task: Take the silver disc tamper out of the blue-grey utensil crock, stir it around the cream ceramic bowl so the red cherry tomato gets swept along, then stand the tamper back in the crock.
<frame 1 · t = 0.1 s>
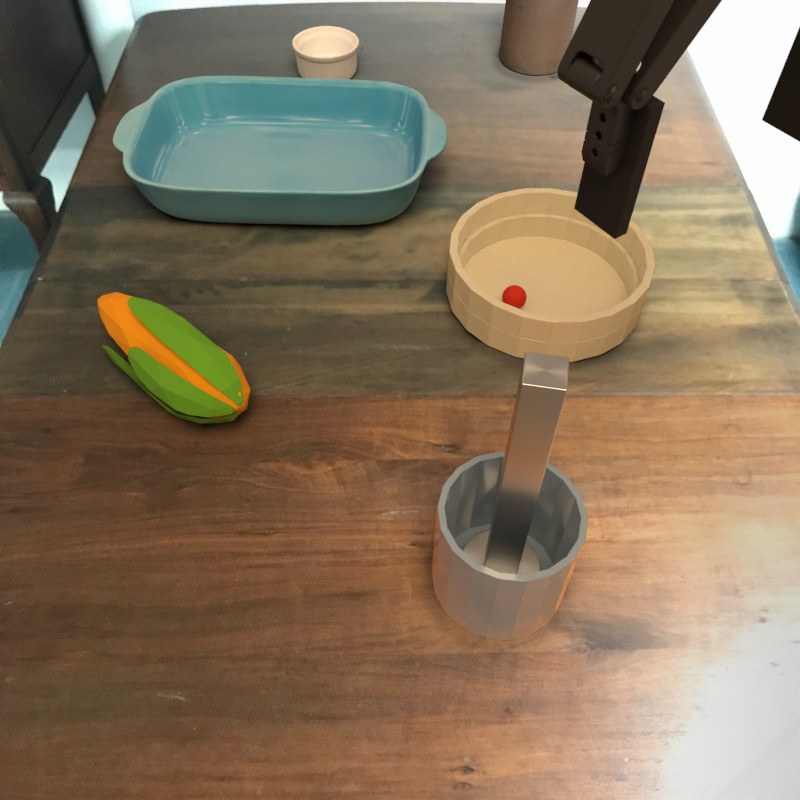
hand: (699, 173, 39), 33 cm above the table, tool pointing down, fingers open, 13 cm apart
bowl: (542, 294, 81), on the table
corn: (171, 379, 74), on the table
ramekin: (327, 73, 109), on the table
silver disc tamper: (497, 576, 61), resting on crock
casserole dish: (287, 182, 93), on the table
cherry tomato: (514, 297, 78), point 2 cm above the table, touching bowl
crock: (496, 579, 61), on the table
pillar candle: (533, 60, 111), on the table
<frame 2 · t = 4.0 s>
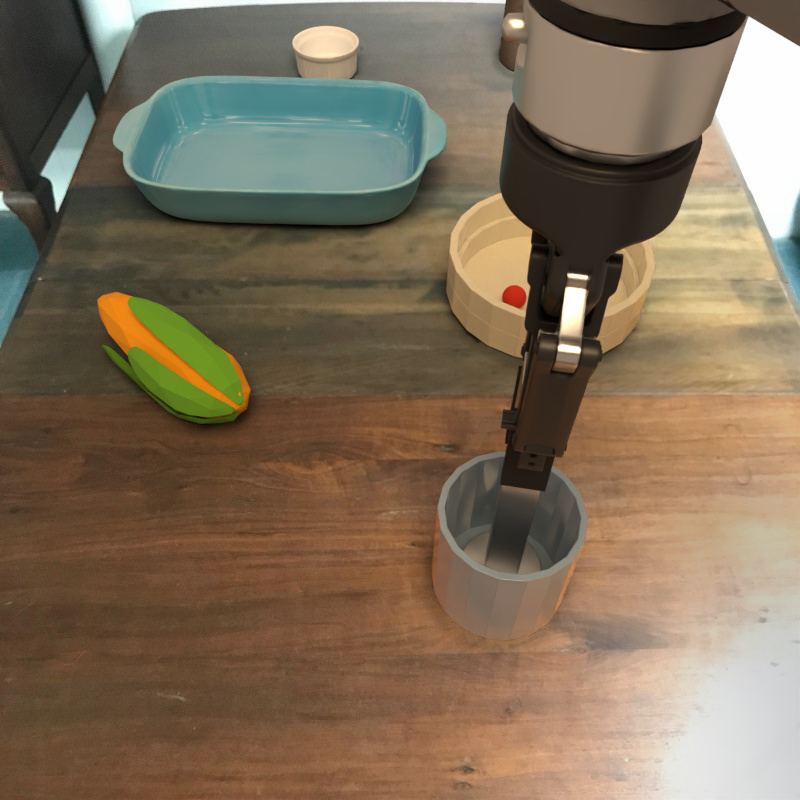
hand: (524, 461, 48), 16 cm above the table, tool pointing down, fingers closed on silver disc tamper, 2 cm apart
silver disc tamper: (497, 577, 60), point 1 cm above the table, touching gripper
everything else where it was.
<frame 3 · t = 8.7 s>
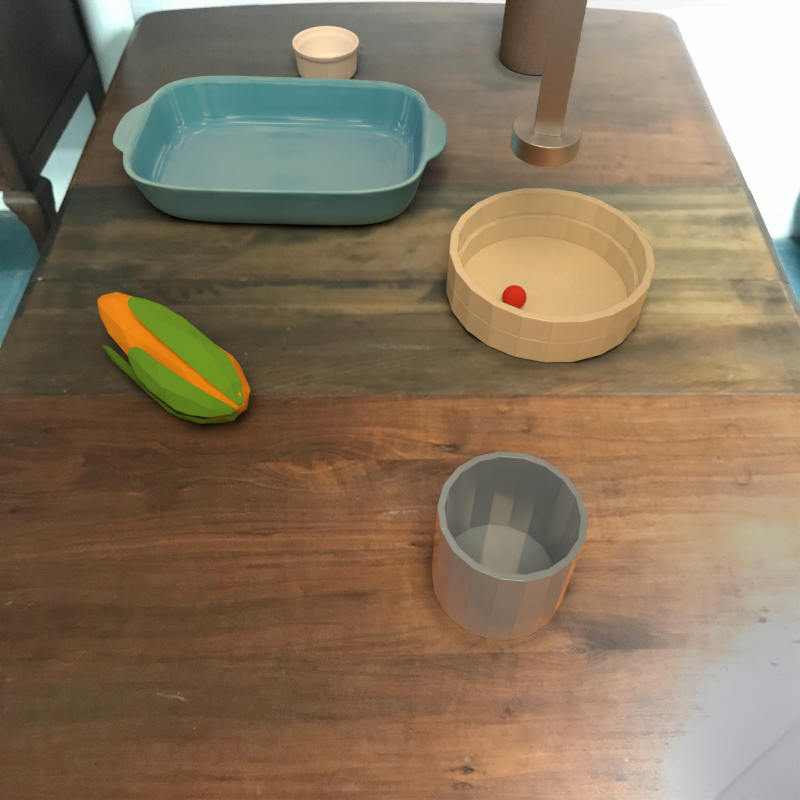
silver disc tamper: (544, 147, 70), point 16 cm above the table, touching gripper
everything else where it was.
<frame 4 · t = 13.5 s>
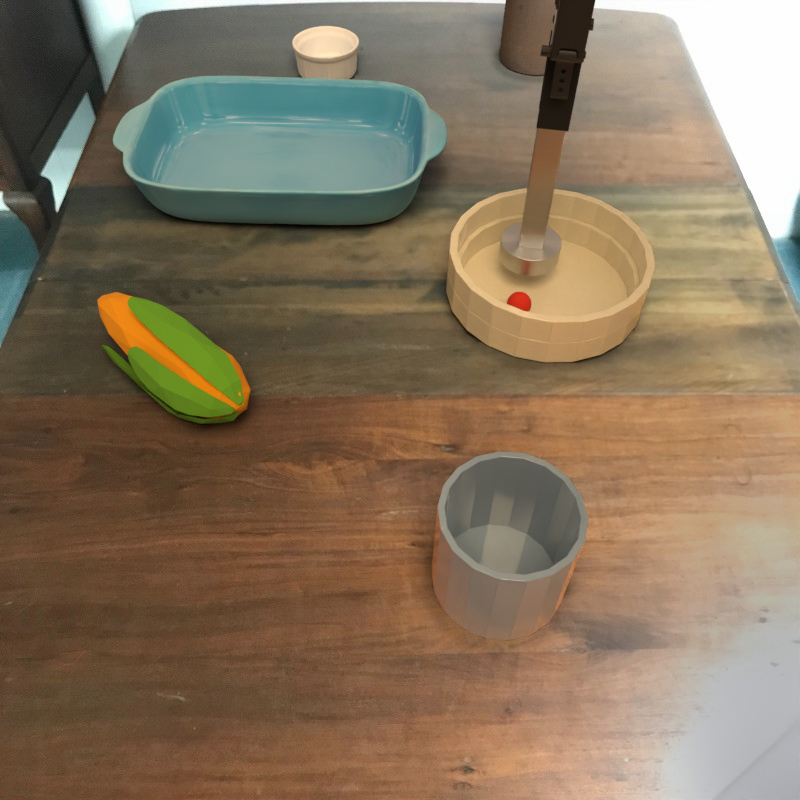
hand: (553, 116, 68), 19 cm above the table, tool pointing down, fingers closed on silver disc tamper, 2 cm apart
silver disc tamper: (528, 256, 80), point 3 cm above the table, touching gripper
cherry tomato: (519, 303, 78), point 2 cm above the table, tilted 33°, touching bowl
everything else where it was.
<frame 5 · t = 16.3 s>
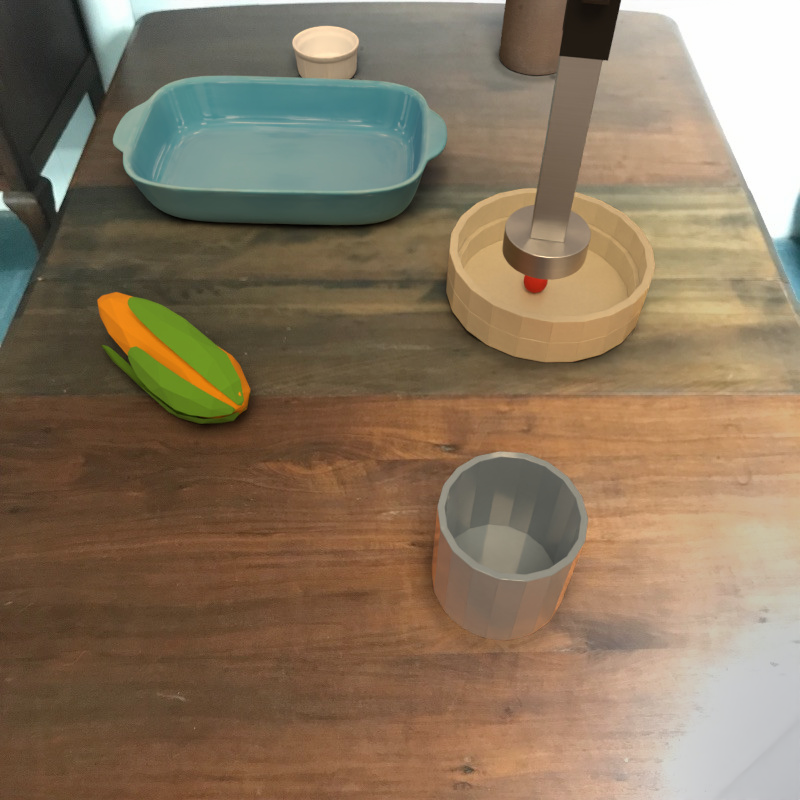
hand: (584, 41, 45), 34 cm above the table, tool pointing down, fingers closed on silver disc tamper, 2 cm apart
silver disc tamper: (543, 252, 57), point 18 cm above the table, touching gripper
cherry tomato: (535, 280, 80), point 2 cm above the table, tilted 154°, touching bowl
everything else where it was.
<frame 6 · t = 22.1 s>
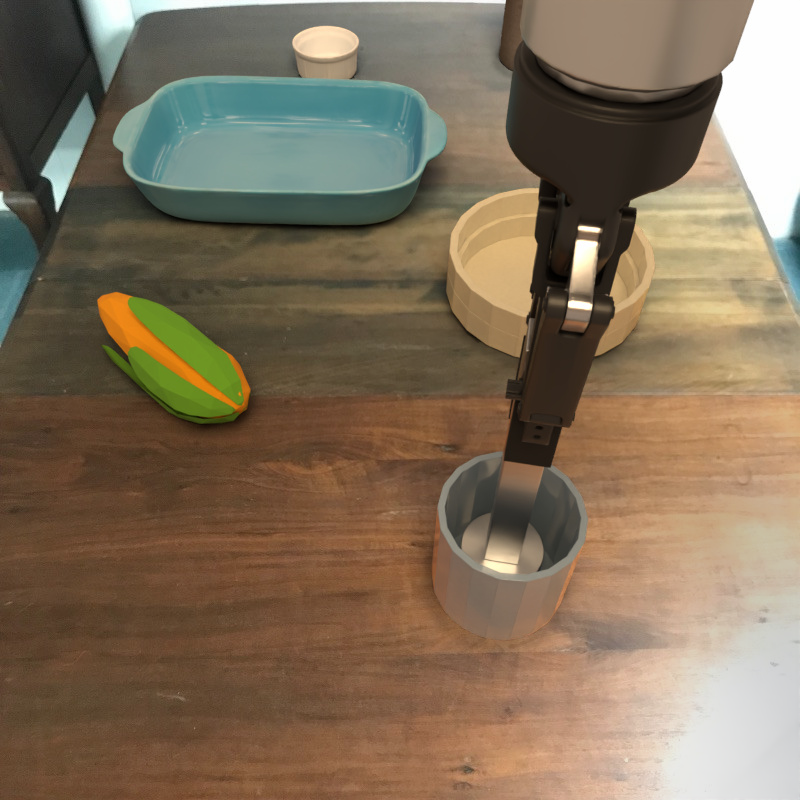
hand: (529, 437, 47), 18 cm above the table, tool pointing down, fingers closed on silver disc tamper, 2 cm apart
silver disc tamper: (499, 560, 59), point 3 cm above the table, touching gripper
cherry tomato: (565, 239, 84), point 2 cm above the table, tilted 155°, touching bowl
everything else where it was.
when the fingers open (16 cm above the table, at t = 23.0 s): silver disc tamper stays where it is, resting on crock.
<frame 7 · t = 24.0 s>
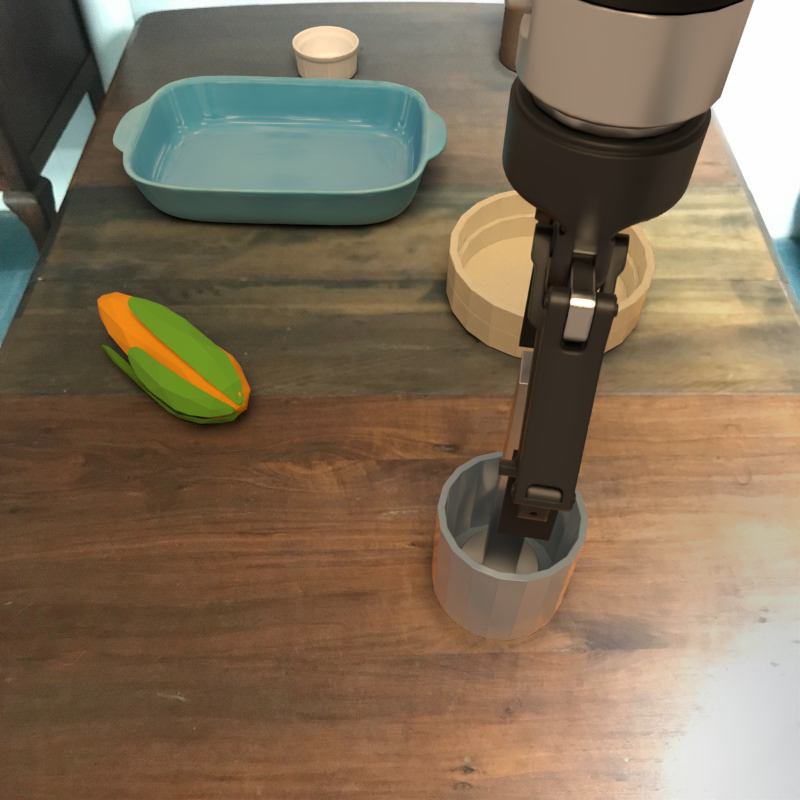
hand: (532, 429, 46), 19 cm above the table, tool pointing down, fingers open, 13 cm apart
silver disc tamper: (495, 575, 61), resting on crock
cherry tomato: (561, 243, 83), point 2 cm above the table, tilted 114°, touching bowl
everything else where it was.
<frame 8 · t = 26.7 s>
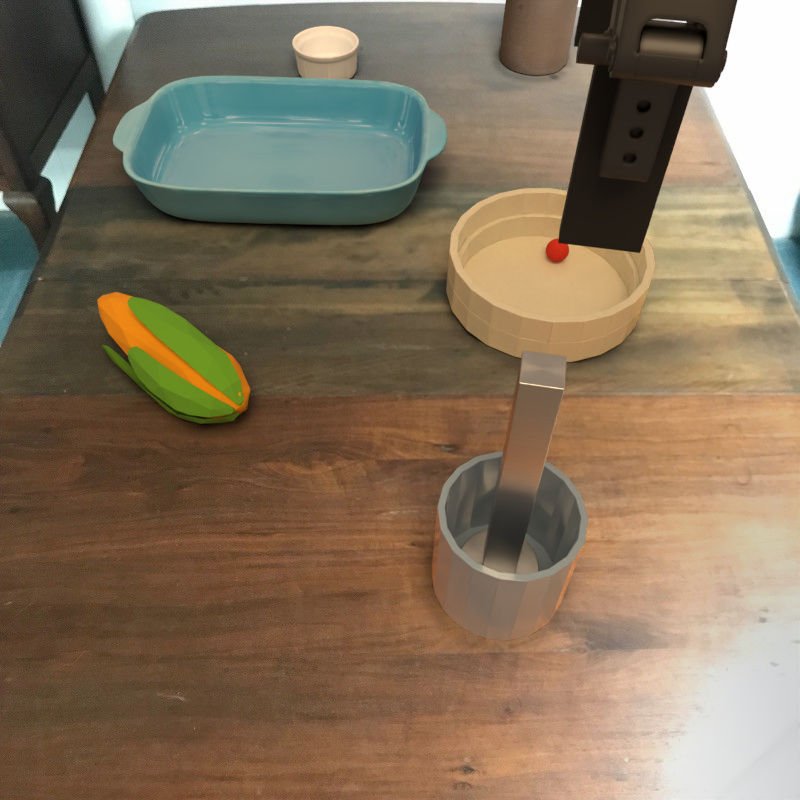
hand: (602, 130, 31), 39 cm above the table, tool pointing down, fingers open, 13 cm apart
cherry tomato: (557, 250, 83), point 2 cm above the table, tilted 56°, touching bowl
everything else where it was.
at the end: cherry tomato moved 8.7 cm from its start; silver disc tamper 0.1 cm off-centre in the crock, point 0.5 cm above the crock's base; the gripper is holding nothing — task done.
